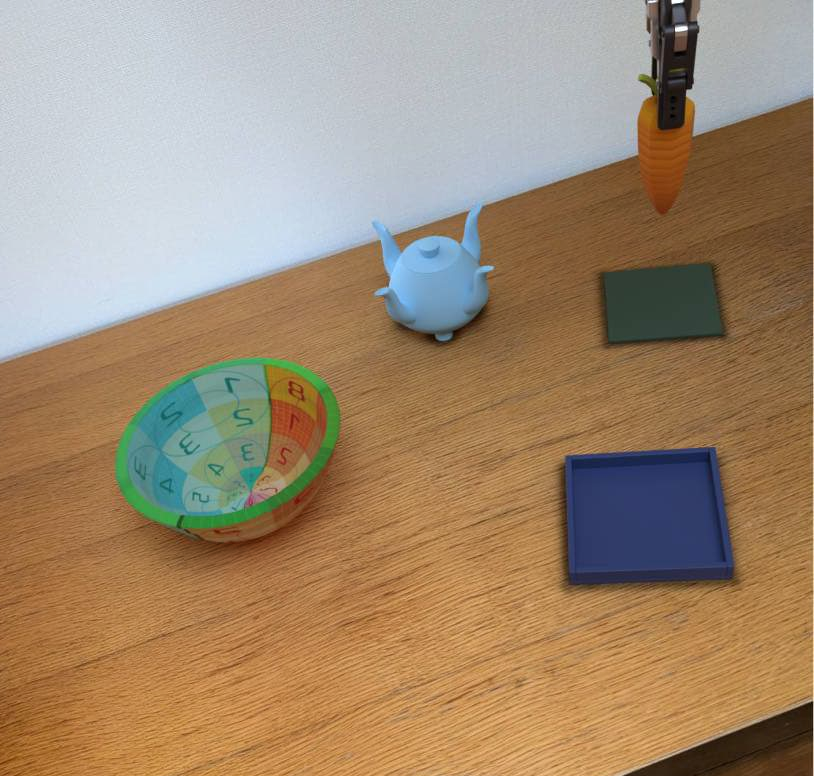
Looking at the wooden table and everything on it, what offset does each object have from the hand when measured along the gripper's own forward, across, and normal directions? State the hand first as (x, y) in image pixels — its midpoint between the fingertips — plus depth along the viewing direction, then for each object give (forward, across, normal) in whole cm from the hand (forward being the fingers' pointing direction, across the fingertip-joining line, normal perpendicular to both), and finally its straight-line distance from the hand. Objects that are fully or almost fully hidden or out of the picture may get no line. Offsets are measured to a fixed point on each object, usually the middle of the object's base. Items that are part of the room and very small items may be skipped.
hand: (667, 109), depth 86 cm
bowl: (+27, -18, +42) cm, 54 cm away
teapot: (+27, +9, +24) cm, 37 cm away
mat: (+27, +7, -1) cm, 28 cm away
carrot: (+11, 0, 0) cm, 11 cm away
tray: (+27, -24, +4) cm, 36 cm away
